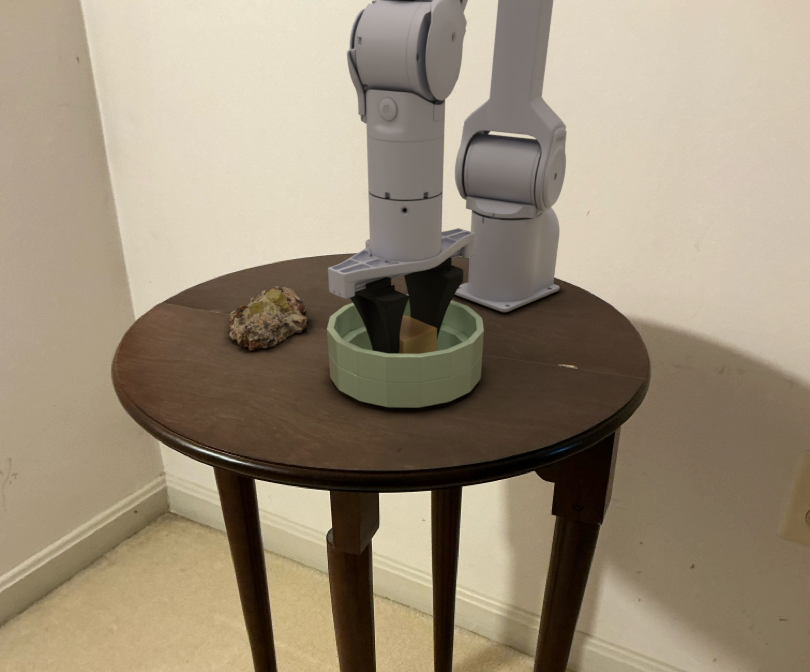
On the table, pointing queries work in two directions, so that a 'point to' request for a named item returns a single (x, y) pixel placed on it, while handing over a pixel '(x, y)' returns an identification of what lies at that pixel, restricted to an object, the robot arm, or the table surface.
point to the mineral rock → (268, 319)
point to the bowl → (406, 361)
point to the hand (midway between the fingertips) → (405, 356)
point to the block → (416, 337)
